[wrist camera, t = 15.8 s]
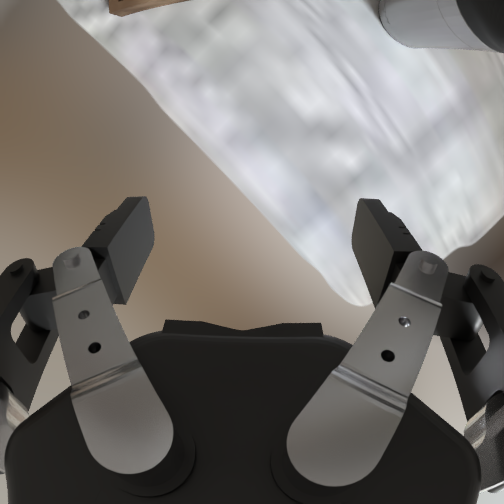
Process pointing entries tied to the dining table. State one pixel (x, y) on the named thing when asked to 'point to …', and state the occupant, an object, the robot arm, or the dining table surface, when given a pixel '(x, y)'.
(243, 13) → the dining table surface
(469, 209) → the dining table surface
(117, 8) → the wooden box
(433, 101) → the dining table surface
